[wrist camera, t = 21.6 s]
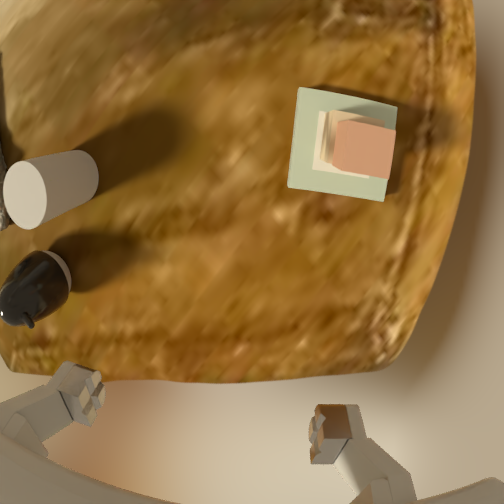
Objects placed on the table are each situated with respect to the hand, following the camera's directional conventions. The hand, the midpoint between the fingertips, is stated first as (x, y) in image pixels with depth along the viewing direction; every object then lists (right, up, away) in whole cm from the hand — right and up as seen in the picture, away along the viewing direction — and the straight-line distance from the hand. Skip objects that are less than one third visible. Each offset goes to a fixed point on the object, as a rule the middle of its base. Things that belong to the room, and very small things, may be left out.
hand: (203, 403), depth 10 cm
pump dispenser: (-31, +2, +35) cm, 47 cm away
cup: (-24, +16, +29) cm, 41 cm away
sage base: (+13, +19, +25) cm, 34 cm away
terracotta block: (+12, +16, +18) cm, 27 cm away
